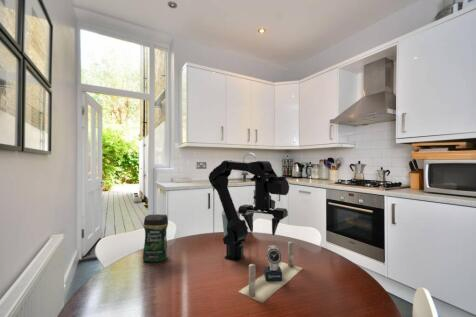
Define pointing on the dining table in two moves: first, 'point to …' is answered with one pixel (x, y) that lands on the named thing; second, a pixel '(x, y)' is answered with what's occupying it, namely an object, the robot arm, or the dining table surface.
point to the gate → (264, 288)
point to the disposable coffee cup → (226, 221)
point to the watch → (273, 265)
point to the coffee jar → (155, 238)
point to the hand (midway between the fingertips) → (262, 233)
